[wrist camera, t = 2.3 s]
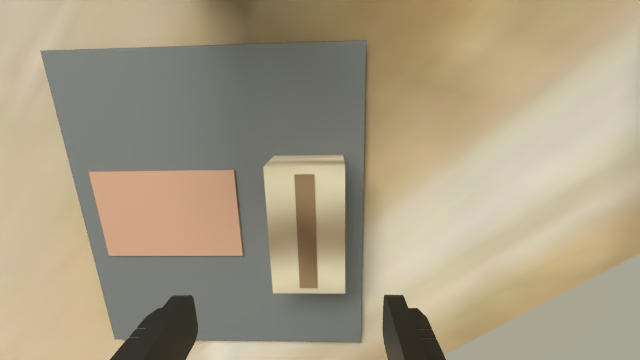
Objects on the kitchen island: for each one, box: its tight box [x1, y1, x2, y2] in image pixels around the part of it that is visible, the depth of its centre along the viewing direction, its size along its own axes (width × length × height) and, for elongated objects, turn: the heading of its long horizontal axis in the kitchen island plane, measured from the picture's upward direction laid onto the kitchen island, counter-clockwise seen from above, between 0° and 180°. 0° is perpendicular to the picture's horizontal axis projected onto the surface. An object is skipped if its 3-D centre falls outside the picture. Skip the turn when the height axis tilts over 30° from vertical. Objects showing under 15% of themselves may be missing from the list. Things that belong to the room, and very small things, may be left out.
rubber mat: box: [41, 40, 366, 342], centre depth 23 cm, size 24×22×1 cm
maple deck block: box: [263, 155, 345, 294], centre depth 21 cm, size 9×5×4 cm, turn 1°
